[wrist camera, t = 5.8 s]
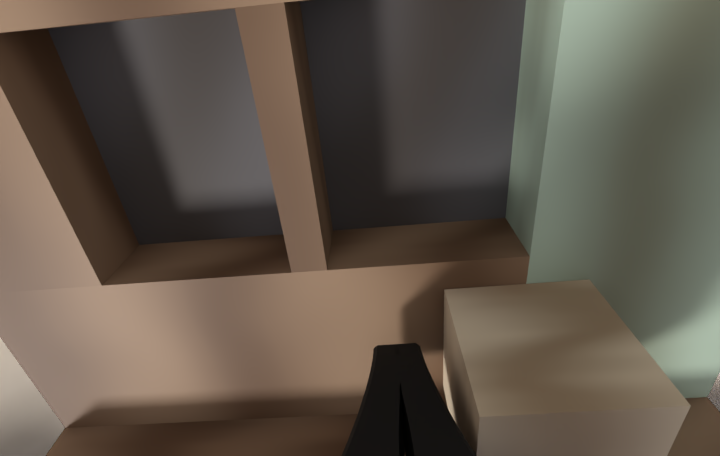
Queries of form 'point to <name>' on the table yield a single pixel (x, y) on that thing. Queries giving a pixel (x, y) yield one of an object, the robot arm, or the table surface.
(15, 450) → the table surface
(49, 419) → the table surface
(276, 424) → the trap deck
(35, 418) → the table surface
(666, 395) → the maple block
